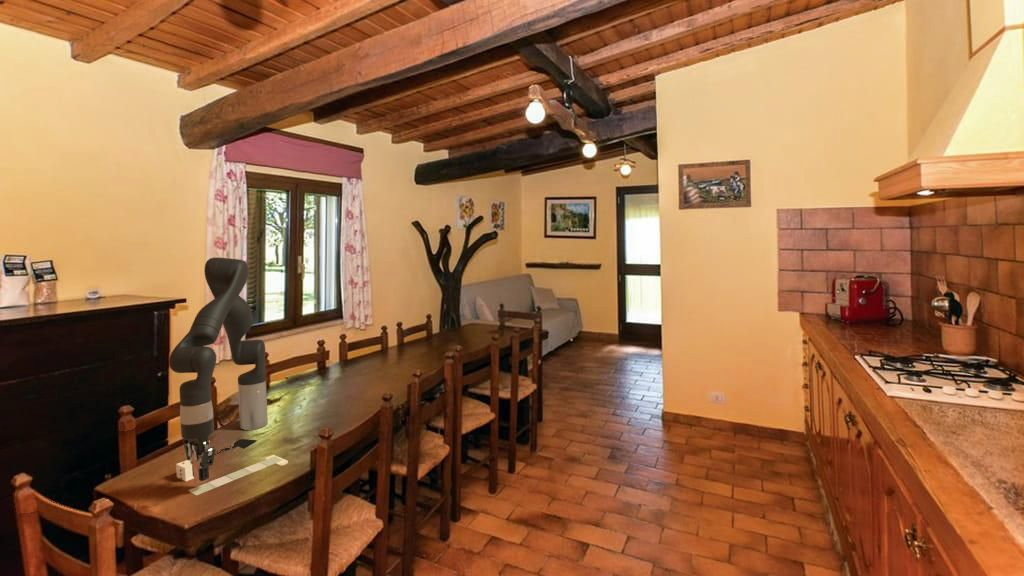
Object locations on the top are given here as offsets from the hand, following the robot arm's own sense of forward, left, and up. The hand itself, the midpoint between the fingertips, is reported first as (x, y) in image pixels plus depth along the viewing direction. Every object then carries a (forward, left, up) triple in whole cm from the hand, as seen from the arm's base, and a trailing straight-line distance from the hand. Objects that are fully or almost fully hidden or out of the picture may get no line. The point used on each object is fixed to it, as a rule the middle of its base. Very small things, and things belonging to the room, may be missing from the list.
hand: (200, 477), depth 128 cm
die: (-11, +2, -4) cm, 12 cm away
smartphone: (-21, +19, -5) cm, 28 cm away
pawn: (0, 0, -1) cm, 1 cm away
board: (0, +10, -4) cm, 11 cm away
